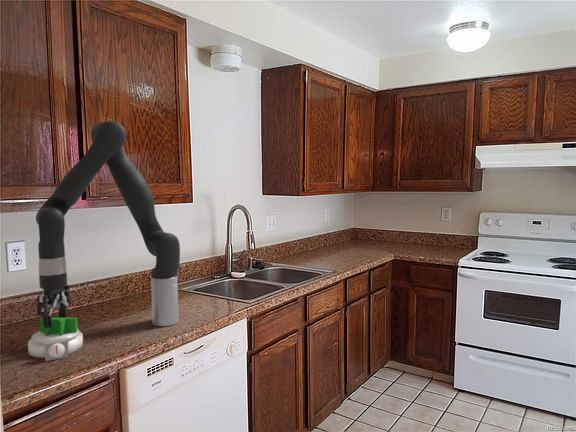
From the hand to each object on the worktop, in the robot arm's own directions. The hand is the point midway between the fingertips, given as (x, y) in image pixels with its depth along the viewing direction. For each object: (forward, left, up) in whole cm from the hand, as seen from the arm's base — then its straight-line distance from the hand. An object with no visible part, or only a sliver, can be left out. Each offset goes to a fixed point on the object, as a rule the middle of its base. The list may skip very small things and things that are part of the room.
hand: (55, 322), depth 133 cm
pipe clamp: (0, 0, -4) cm, 4 cm away
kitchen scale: (+1, +1, -8) cm, 8 cm away
